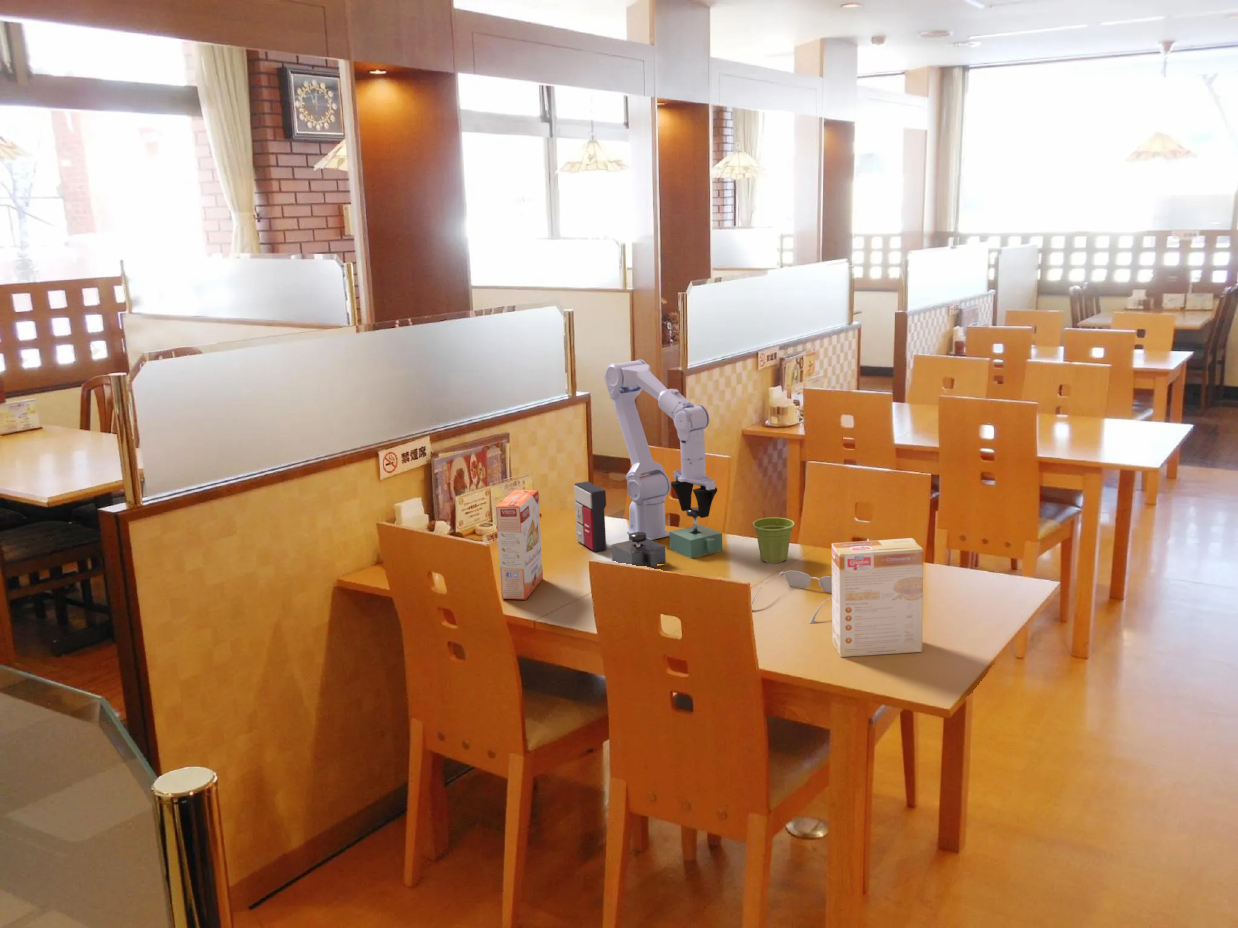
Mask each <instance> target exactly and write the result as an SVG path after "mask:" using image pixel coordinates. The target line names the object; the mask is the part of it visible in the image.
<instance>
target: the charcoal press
mask: <svg viewBox="0 0 1238 928" xmlns="http://www.w3.org/2000/svg"><path fill="white" fill-rule="evenodd" d="M666 555H667V554H666V546H665V545H663V544H661V543H658V542H656V541H654V540H650V539H648V538H647V539H646V540H645V541H643V542H640V547H637V548H636V542H631V541H629V540H625V541H621V542H616V543H612V544H611V556H612V559H611V560H612V561H616V562H618V563H626V564H632V565H636V566H647V567H653V568H655V567H654V566H657V564H665V563H666V562H667V559H666ZM666 564H667V563H666Z"/></svg>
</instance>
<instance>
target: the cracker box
mask: <svg viewBox="0 0 1238 928" xmlns="http://www.w3.org/2000/svg"><path fill="white" fill-rule="evenodd" d="M539 497H540V496H539V490H536V489H515V490H513V491H512V492H511V493H510V494H508V495H507V496H506V497H505V498H504V499H503V500H501V502H499V503H498V504H497V505H495V516H496V517H495V518H496V530H497V531H496V533H497V546H498V558H499V560H498V562H499V563H498V565H499V576H500V577H499V578H500V591H501V599H503V600H520V601H522V600H523V601H525V600H527V599H528V597H529V596H530V595H531V594H532V592H534V590H535V589H536V588H537V586H538V585H540V583H541V582H542V581H543V580H544V573H543V572H544V570H543V555H542V554H543V553H542V551H543V550H542V540H541V539H542V537H541V536H542V535H541V520H540V519H541V515H540V501H539V499H540V498H539Z"/></svg>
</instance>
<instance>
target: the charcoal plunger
mask: <svg viewBox="0 0 1238 928" xmlns="http://www.w3.org/2000/svg"><path fill="white" fill-rule="evenodd" d="M646 539H647V538H646V533H644V532H633V533H630V534H629V533H628V541H631V542H636V548H637V547H640V542H643V541H645V540H646Z"/></svg>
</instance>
